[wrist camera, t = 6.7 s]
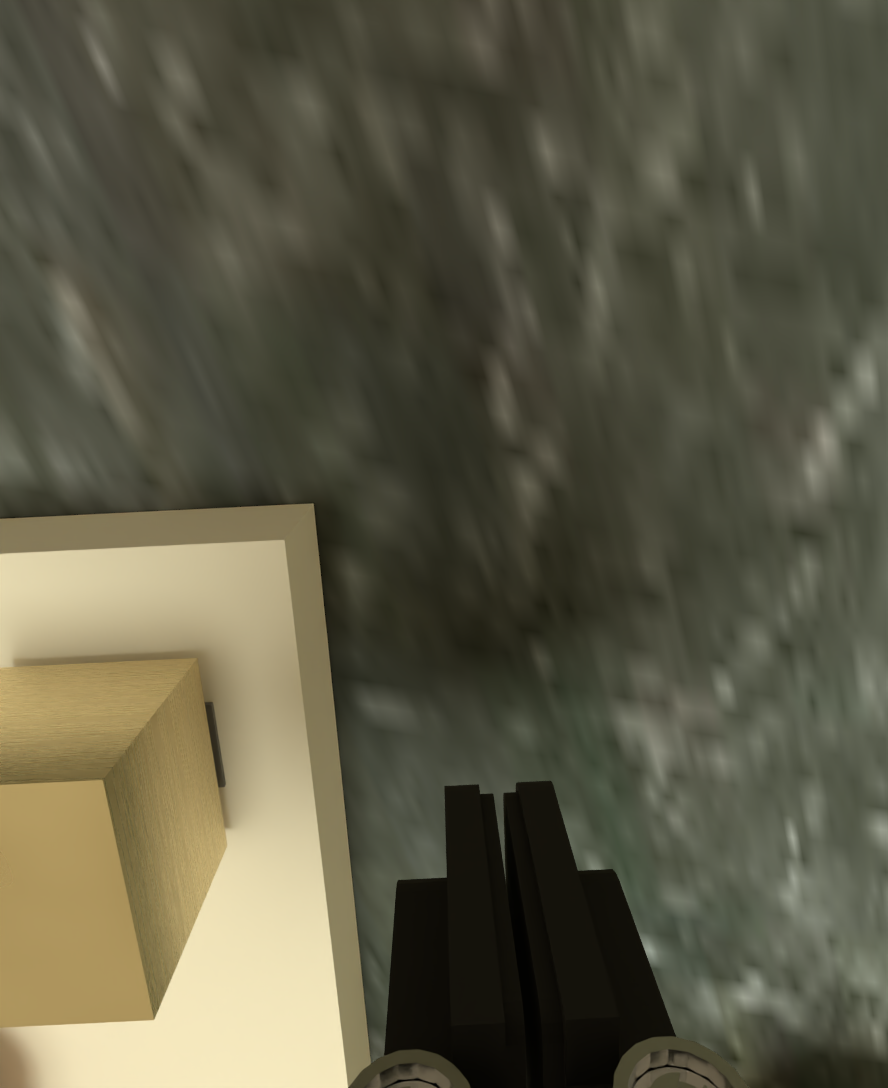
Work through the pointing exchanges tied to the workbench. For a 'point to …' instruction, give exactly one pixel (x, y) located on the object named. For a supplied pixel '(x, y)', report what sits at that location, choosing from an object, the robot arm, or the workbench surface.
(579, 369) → the workbench surface
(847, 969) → the workbench surface
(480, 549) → the workbench surface
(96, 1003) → the brass slider
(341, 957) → the control panel
